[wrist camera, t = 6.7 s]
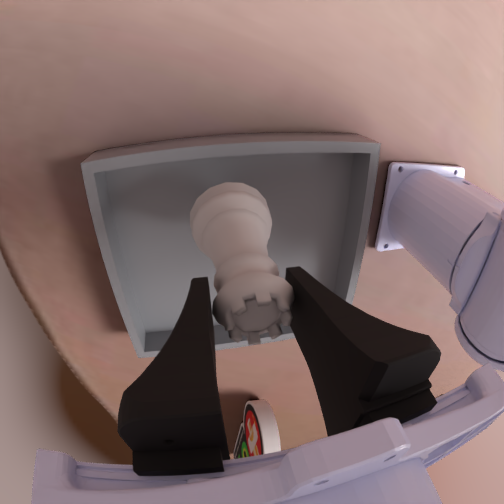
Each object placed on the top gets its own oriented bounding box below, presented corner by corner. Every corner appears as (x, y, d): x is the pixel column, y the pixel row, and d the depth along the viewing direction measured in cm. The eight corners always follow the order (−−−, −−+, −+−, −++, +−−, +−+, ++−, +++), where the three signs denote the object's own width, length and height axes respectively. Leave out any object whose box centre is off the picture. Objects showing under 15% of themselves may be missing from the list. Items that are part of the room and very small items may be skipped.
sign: (242, 451, 44) (254, 501, 36) (232, 452, 44) (243, 503, 36) (265, 383, 33) (287, 458, 25) (250, 385, 33) (270, 461, 25)
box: (357, 134, 20) (380, 143, 17) (333, 306, 28) (345, 327, 26) (94, 151, 17) (80, 163, 14) (140, 332, 25) (138, 357, 23)
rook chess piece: (252, 251, 19) (289, 359, 13) (181, 240, 18) (188, 356, 11) (278, 188, 17) (337, 285, 11) (199, 170, 15) (214, 270, 9)
